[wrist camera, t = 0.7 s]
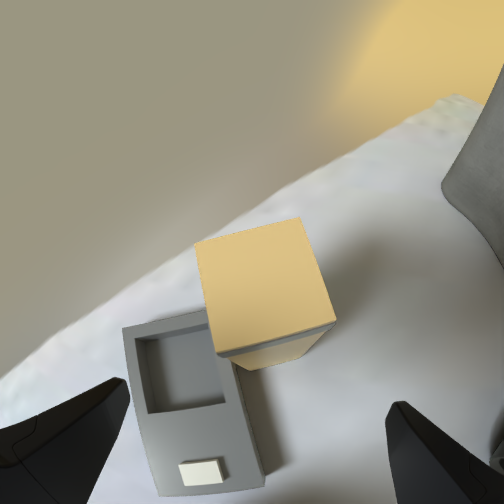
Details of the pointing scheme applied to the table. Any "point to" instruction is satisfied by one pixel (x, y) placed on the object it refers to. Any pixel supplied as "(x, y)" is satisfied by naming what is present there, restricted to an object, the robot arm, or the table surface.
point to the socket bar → (190, 409)
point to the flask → (482, 173)
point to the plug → (264, 294)
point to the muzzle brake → (498, 459)
